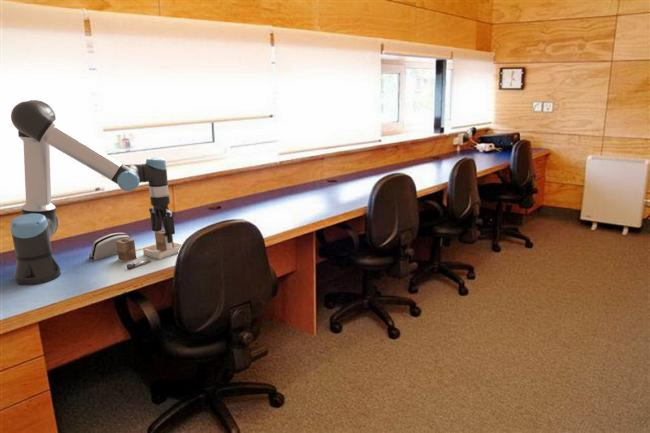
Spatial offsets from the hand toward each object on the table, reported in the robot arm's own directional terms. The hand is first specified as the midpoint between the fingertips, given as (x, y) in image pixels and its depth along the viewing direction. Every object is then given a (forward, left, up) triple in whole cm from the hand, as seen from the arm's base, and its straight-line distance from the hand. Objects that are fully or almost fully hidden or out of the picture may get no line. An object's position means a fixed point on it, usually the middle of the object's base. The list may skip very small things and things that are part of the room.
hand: (165, 248), depth 215 cm
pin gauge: (-15, -5, -2) cm, 16 cm away
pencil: (0, +12, -2) cm, 13 cm away
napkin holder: (-14, +18, -2) cm, 23 cm away
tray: (0, 0, -2) cm, 2 cm away
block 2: (0, 0, 0) cm, 0 cm away
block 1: (-14, +6, -2) cm, 16 cm away
